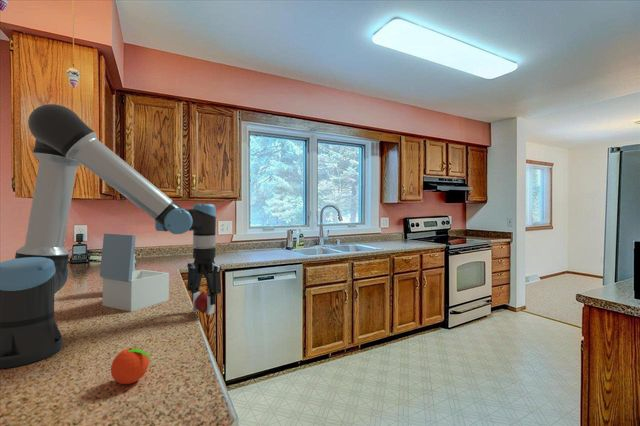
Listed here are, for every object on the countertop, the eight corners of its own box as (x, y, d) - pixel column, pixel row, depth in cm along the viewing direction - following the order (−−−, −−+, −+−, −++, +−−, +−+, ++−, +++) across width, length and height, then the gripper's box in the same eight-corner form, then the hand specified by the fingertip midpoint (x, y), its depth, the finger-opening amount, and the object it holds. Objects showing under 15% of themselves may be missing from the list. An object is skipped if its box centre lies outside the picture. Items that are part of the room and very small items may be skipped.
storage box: (131, 311, 113) (131, 280, 113) (102, 305, 120) (102, 276, 120) (168, 300, 128) (169, 273, 128) (141, 295, 135) (141, 269, 134)
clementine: (159, 374, 71) (160, 342, 71) (141, 391, 64) (141, 356, 64) (124, 373, 71) (125, 341, 71) (102, 390, 64) (102, 355, 64)
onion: (191, 314, 112) (191, 291, 112) (204, 309, 117) (204, 287, 117) (202, 316, 109) (203, 293, 109) (215, 312, 114) (215, 289, 114)
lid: (131, 282, 113) (128, 282, 112) (102, 277, 120) (99, 278, 119) (135, 235, 115) (132, 235, 113) (107, 233, 121) (103, 233, 120)
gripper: (232, 247, 112) (231, 313, 112) (192, 244, 120) (191, 305, 120) (217, 249, 106) (217, 319, 106) (176, 246, 113) (175, 311, 113)
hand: (203, 312), depth 113 cm, fingers open, 6 cm apart
